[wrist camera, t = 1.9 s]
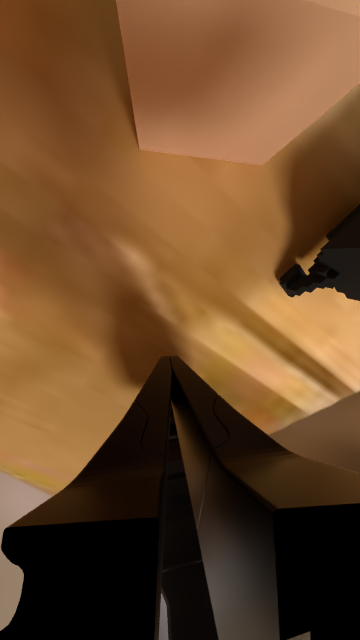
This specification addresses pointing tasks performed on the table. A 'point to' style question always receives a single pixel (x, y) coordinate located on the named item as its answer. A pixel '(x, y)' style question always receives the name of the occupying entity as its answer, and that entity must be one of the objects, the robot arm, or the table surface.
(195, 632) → the robot arm
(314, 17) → the tile
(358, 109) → the table surface
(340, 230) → the security camera
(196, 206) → the table surface
